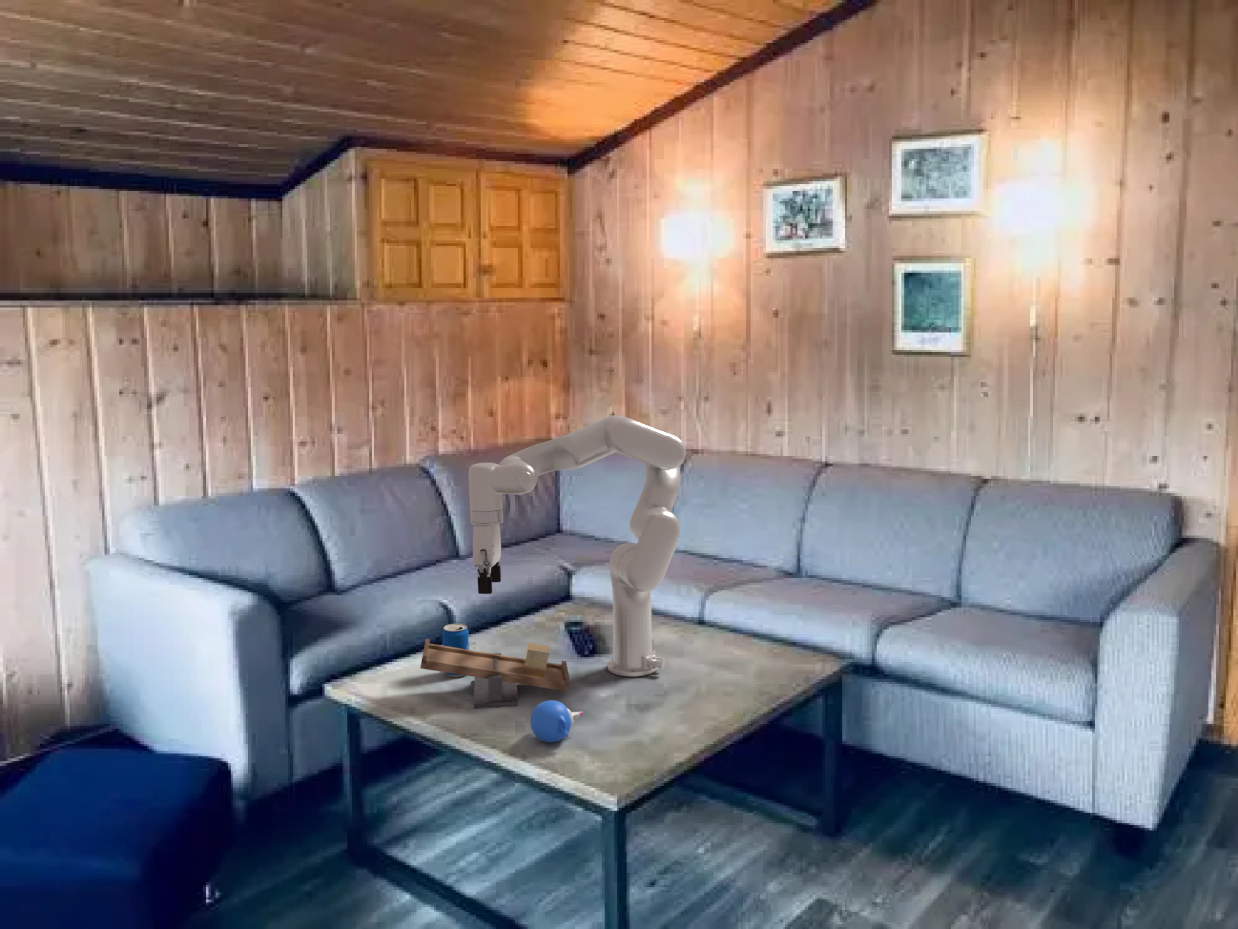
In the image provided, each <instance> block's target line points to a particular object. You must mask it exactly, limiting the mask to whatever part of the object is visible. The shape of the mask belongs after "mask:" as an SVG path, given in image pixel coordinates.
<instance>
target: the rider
mask: <svg viewBox="0 0 1238 929" xmlns="http://www.w3.org/2000/svg"><path fill="white" fill-rule="evenodd" d="M549 654H550V651H549V646H548V645H546V644H545V645H544V644H538V643H531V642H526V647H525V652H524V656H523V659H524V661H523V665H522V669H523V674H526V675H533V676H539V677H544V675H545V670H546V665H547V662H548V659H549Z"/></svg>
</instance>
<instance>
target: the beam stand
mask: <svg viewBox="0 0 1238 929" xmlns="http://www.w3.org/2000/svg"><path fill="white" fill-rule="evenodd" d="M493 654H498V655H502V653H501V652H498V653H497V652H496V653H495V652H494V653H493ZM517 684H518V683H511V682H505V681H502V675H492V676H488V679H485V678H479V677H474V684H473V686H474V687H473V709H474V710H475V709H491V708H508V707H509V708H510V707H518V706H519V699H518V685H517Z"/></svg>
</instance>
